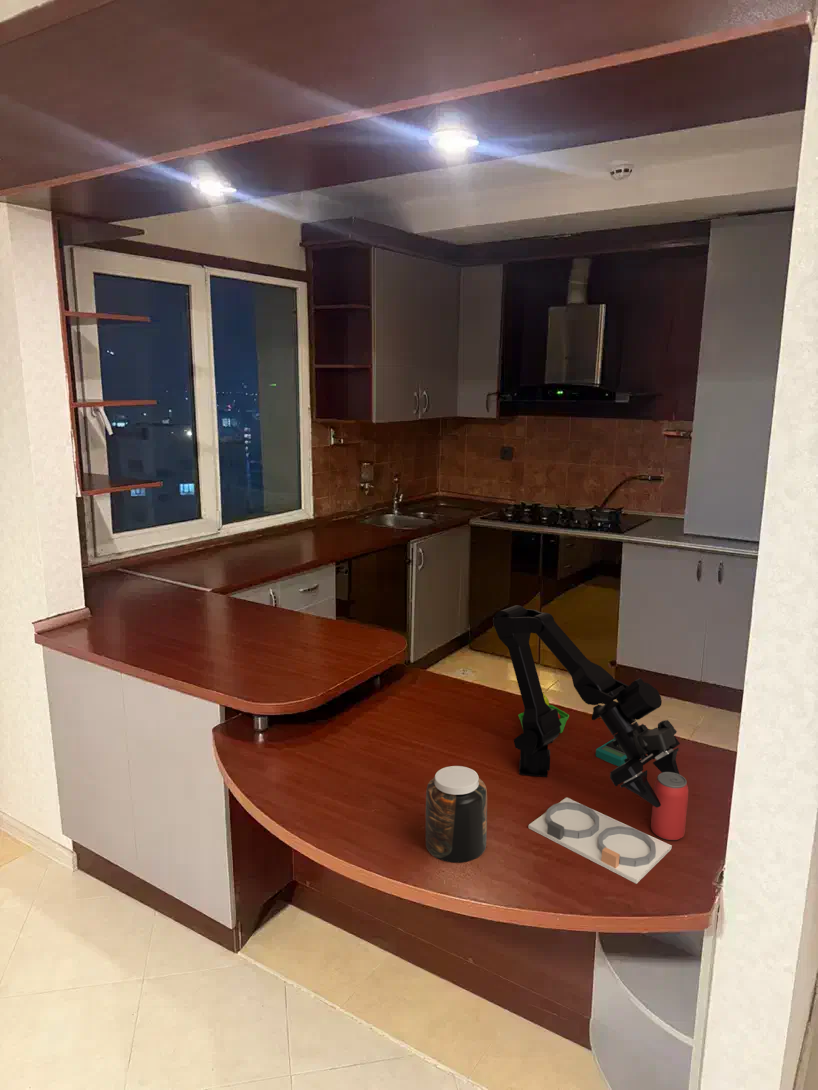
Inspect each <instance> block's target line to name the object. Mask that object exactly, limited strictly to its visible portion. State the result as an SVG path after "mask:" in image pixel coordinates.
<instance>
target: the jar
mask: <svg viewBox="0 0 818 1090" xmlns="http://www.w3.org/2000/svg"><path fill="white" fill-rule="evenodd" d="M434 774H435V775H434V777H433V778H432V779H430V781H429V782H428V783H427V786H426V791H425V848H426V850H427V851H428V852H429V854H430V855H431V856H432V857H434V858H435V859H438V860H440V861H443V862H446V863H447V862H449V863H456V864H457V863H460V864H461V863H466V862H471V861H473V860H476V859H478V858H479V857H480V856H482V855H483V854H484V852H485V851H486V847H487V833H488V831H487V829H488V791H487V785H486V784H485V782H484V781H483V780H482V779H481V778H479V775H478V773H477V772H476V771H475V770H474V769H472V768H469V767H467V766H462V765H452V766H445V767H443V768H441V769H439V770H437V772H436V773H434Z"/></svg>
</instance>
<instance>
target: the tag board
mask: <svg viewBox="0 0 818 1090" xmlns="http://www.w3.org/2000/svg"><path fill="white" fill-rule="evenodd" d="M528 829H529V830H531V831H533V832H535V833H537V834H539V835H541V836H543V837H545V838H547V839H549V840H550V841H553V842H554V843H556V844H558V845H560V846H562V847H564V848H566V849H568V850H570V851H572V852H573V853H575V854H577V855H580V856H582V857H583V858H585V859H588V861H589V860H590V861H591V862H593V863H595V864H597V865H599V866H601V867H603V868H605V869H607V870H609V871H610V872H613V873H615V874H617V875H618V876H620V877H623V878H624V879H626V880H628V881H630V882H632V883H634V884H636V885H637V884H638V883H639V882H640V881H641V880H642V879H643V878H644V877H645V876H646V875H647V874H648V873H649V872H650V871H651V870H652V869H653V868H654V867H655V866H656V865H657V864H658V863H659V862H660V861H661V860H662V859H663V858H664V857H665V856H666V855H667V854H668V853H669V852H670V851H671V850H672V846H673V845H671V844H669V843H667V842H665V841H662V840H661V839H658V838H656V837H653V836H651V835H649V834H647V833H645V832H643V831H641V830H639V829H636V828H634V827H632V826H630V825H628V824H625V823H623V822H621V821H619V820H617V819H614V818H613V817H610V816H608V815H607V814H603V813H602V812H599V811H597V810H595V809H593V808H590V807H588V806H586V805H585V804H582V803H579V801H575V800H574V799H571V798H570V797H564V799H562V800H561V801H560V802H558V803H554V804H552V805H551V806H550V807H549V808H547V809H546V811H545V812H544V813H543V814H541V816H539V817H538V818H536V819H534V821H532V822H530V823H529V824H528Z"/></svg>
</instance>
